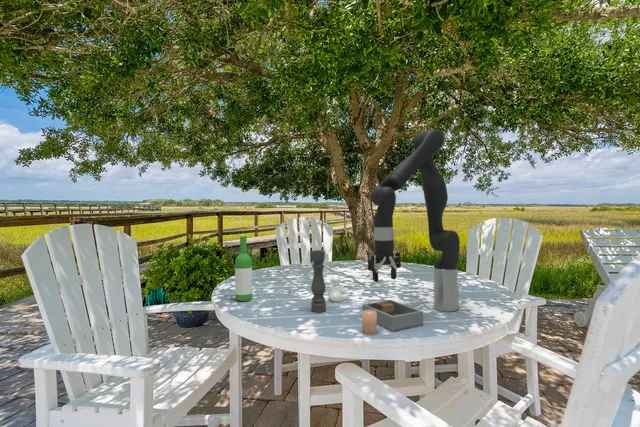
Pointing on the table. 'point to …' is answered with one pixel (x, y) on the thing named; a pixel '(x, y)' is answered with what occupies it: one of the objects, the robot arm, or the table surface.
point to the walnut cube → (385, 307)
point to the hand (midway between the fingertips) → (384, 280)
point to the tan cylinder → (369, 322)
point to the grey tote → (397, 316)
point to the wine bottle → (243, 273)
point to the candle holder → (318, 282)
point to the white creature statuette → (336, 290)
